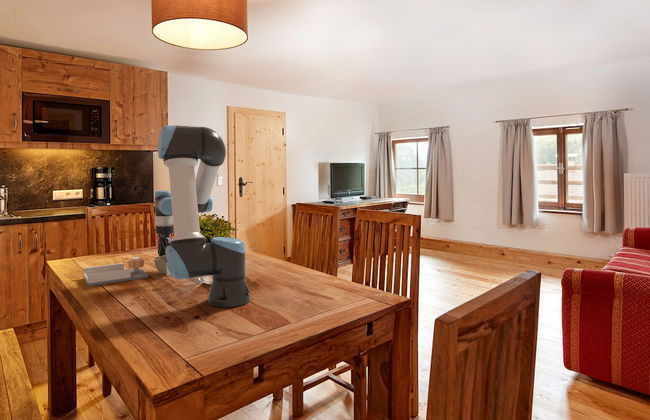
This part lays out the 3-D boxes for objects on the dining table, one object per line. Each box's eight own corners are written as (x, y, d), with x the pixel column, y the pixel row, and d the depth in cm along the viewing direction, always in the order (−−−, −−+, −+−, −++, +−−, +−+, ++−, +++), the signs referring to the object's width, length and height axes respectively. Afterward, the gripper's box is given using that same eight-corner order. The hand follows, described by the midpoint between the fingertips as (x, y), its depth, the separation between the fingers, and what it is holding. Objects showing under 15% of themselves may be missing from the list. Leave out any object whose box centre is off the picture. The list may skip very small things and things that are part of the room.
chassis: (148, 277, 178) (147, 267, 178) (88, 286, 164) (87, 275, 164) (140, 270, 189) (140, 260, 189) (83, 278, 176) (83, 267, 175)
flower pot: (172, 276, 181) (172, 260, 180) (150, 276, 181) (150, 260, 180) (181, 270, 190) (180, 255, 190) (160, 270, 191) (159, 255, 190)
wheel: (145, 266, 181) (144, 258, 180) (130, 268, 177) (129, 260, 177) (141, 264, 186) (141, 255, 185) (127, 265, 182) (126, 257, 182)
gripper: (181, 227, 176) (182, 277, 179) (165, 221, 194) (167, 266, 197) (163, 229, 172) (165, 279, 174) (149, 222, 190) (151, 268, 193)
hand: (166, 272), depth 186 cm, fingers open, 10 cm apart
